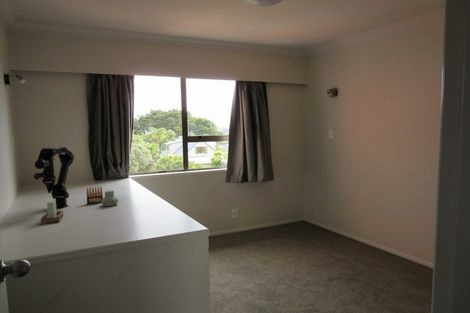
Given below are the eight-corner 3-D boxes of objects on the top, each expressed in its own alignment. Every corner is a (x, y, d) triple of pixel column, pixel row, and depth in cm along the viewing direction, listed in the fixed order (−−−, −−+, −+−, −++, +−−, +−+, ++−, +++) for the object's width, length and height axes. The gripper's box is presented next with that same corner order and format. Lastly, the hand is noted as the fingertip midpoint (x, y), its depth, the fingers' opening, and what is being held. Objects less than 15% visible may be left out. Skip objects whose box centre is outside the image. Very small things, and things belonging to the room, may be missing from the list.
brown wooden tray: (46, 217, 198) (46, 212, 198) (63, 215, 202) (63, 210, 201) (41, 224, 184) (40, 219, 183) (59, 222, 187) (59, 217, 186)
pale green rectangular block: (51, 216, 196) (49, 199, 195) (56, 215, 197) (55, 199, 196) (48, 220, 188) (47, 203, 187) (54, 219, 189) (53, 202, 188)
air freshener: (100, 207, 222) (99, 192, 221) (102, 204, 230) (101, 190, 229) (118, 205, 224) (117, 191, 224) (118, 203, 232) (118, 189, 232)
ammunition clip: (86, 204, 231) (85, 187, 230) (86, 203, 233) (85, 187, 232) (103, 202, 236) (102, 186, 235) (103, 202, 237) (102, 185, 236)
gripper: (35, 167, 215) (37, 191, 216) (31, 169, 198) (33, 195, 199) (55, 166, 220) (56, 189, 220) (53, 168, 203) (54, 193, 204)
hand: (50, 192), depth 211 cm, fingers open, 9 cm apart
